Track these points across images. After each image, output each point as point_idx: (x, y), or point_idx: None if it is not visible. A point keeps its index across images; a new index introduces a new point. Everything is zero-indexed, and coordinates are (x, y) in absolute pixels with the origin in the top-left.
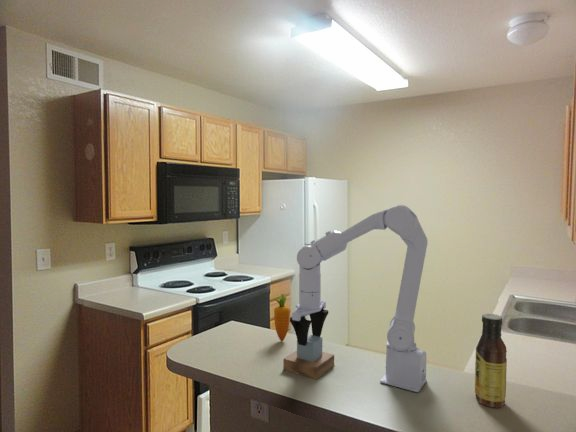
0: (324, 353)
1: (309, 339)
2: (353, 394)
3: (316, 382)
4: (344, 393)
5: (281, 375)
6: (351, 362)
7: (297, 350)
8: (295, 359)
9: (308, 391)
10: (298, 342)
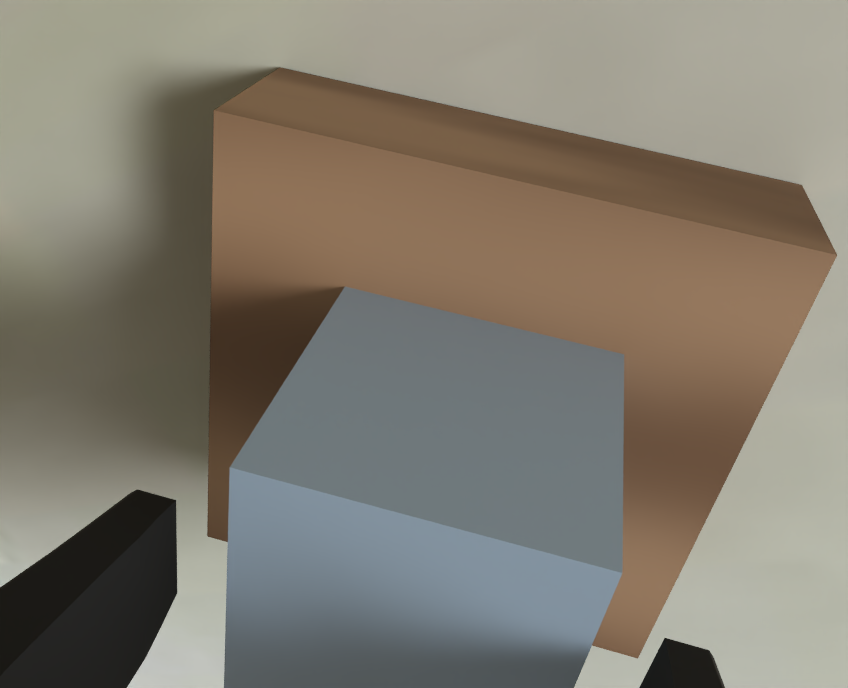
0: (638, 568)
1: (342, 644)
2: (191, 682)
3: (207, 462)
4: (170, 640)
5: (136, 105)
6: (772, 680)
7: (306, 353)
8: (278, 286)
9: (35, 433)
10: (111, 515)
